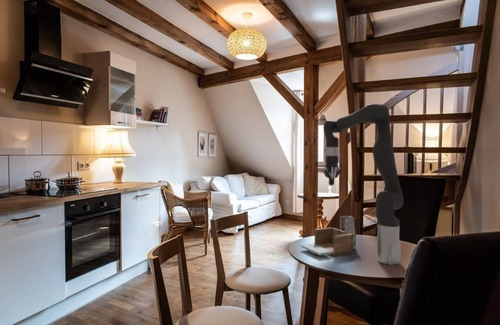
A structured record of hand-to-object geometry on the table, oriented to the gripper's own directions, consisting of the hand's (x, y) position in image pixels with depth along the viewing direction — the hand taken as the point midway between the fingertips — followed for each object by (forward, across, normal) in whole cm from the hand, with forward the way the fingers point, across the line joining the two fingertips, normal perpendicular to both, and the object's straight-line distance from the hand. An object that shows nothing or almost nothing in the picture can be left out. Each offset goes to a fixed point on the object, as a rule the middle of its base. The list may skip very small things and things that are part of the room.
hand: (331, 185), depth 183 cm
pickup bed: (+32, -13, -17) cm, 38 cm away
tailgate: (+30, -20, -17) cm, 40 cm away
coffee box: (+32, 0, -14) cm, 35 cm away
